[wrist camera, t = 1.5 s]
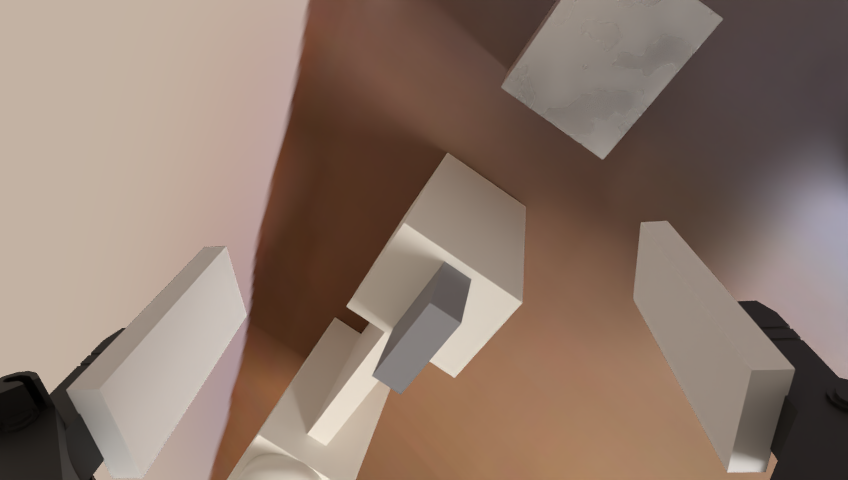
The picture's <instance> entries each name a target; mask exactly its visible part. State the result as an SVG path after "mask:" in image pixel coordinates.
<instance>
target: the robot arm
mask: <svg viewBox="0 0 848 480" xmlns="http://www.w3.org/2000/svg"><path fill="white" fill-rule="evenodd" d="M633 300H634V302H635V304H636V305H637V307H638V309H639V311H640V313H641V315H642V316H643V318H644V320H645V322H646V324H647V326H648V328H649V329H650V331H651V333H652V335H653V337H654V339H655V340H656V342H657V344H658V346H659V348H660V350H661V351H662V353H663V355H664V357H665V359H666V361H667V363H668V364H669V366H670V368H671V370H672V372H673V374H674V375H675V377H676V379H677V381H678V383H679V385H680V386H681V388H682V390H683V392H684V394H685V396H686V398H687V399H688V401H689V403H690V405H691V407H692V409H693V410H694V412H695V414H696V416H697V418H698V420H699V421H700V423H701V425H702V427H703V429H704V431H705V433H706V434H707V436H708V438H709V440H710V442H711V444H712V445H713V447H714V449H715V451H716V453H717V455H718V456H719V458H720V460H721V462H722V464H723V466H724V468H725V469H726V471H727V472H766V469H767V465H768V462H769V458H770V455H771V452H773V454H774V455H775V457H776V458H777V460H778V462H777V464H776V466H775V469H774V471H773V474H772V476H771V478H770V480H848V380H847V379H843V378H839V377H838V376H837V375H836V374H835V373H834V372H833V371H832V370H831V369H830V368H829V367H828V366H827V365H826V364H825V363H824V362H823V361H822V360H821V358H820V357H819V356H818V355H817V354H816V353H815V352H814V351H813V350H812V349H811V348H810V347H809V346H808V345H807V344H806V343H805V342H804V341H803V340H801V339H800V336H799V335H798V334H797V333H796V332H795V331H794V330H793V329H790V326H789V325H788V324H787V323H786V322H785V321H784V320H783V319H782V318H781V317H780V316H779V314H778V313H777V312H775V311H773V310H771V309H770V308H768V307H766V306H765V305H763V304H761V303H759V302H758V301H736V300H735V299H734V298H733V296H732V295H731V294H730V293H729V292H728V291H727V289H726V288H725V287H724V286H723V285H722V284H721V283H720V281H719V280H718V279H717V278H716V277H715V276H714V274H713V273H712V272H711V271H710V270H709V269H708V267H707V266H706V265H705V264H704V263H703V262H702V261H701V259H700V258H699V257H698V256H697V255H696V254H695V252H694V251H693V250H692V249H691V248H690V247H689V245H688V244H687V243H686V242H685V241H684V240H683V239H682V237H681V236H680V235H679V234H678V233H677V232H676V230H675V229H674V228H673V227H672V226H671V225H670V223H669V222H668V221H655V222H641V226H640V235H639V245H638V255H637V265H636V275H635V284H634V294H633ZM246 317H247V313H246V310H245V306H244V303H243V300H242V296H241V293H240V290H239V286H238V283H237V280H236V276H235V273H234V270H233V266H232V263H231V260H230V256H229V253H228V249H227V246H216V247H204V248H203V249H202V250H201V251H200V252H199V253H198V254H197V255H196V256H195V257H194V258H193V260H191V261H190V262H189V264H187V266H186V267H185V268H184V269H183V270H182V271H181V272H180V273H179V274H178V275H177V276H176V277H175V278H174V279H173V280H172V281H171V282H170V283H169V284H168V285H167V286H166V287H165V289H163V290H162V291H161V292H160V293H159V294H158V295H157V296H156V298H155V299H154V300H153V301H152V302H151V303H150V304H149V305H148V306H147V307H146V308H145V309H144V310H143V311H142V312H141V313H140V314H139V315H138V316H137V317H136V318H135V319H134V320H133V321H132V323H130V324H129V325H128V326H127V327H126V328H122V329H120V330H119V331H117V332H116V333H114V334H113V335H111V336H110V337H108V338H106V339H105V340H103V341H102V342H101V343H100V345H98V347H96V348H95V350H93V351H92V353H91V355H89V356H87V358H86V359H85V360H84V361H82V363H81V366H78V367H77V368H76V369H75V370H74V371H73V372H72V373H71V374H70V375H69V376H68V377H67V378H66V379H65V380H64V381H63V382H62V383H61V384H60V385H59V386H58V387H57V388H56V389H55V390H54V391H53V392H52V393H51V394H50V395H49V394H48V392H47V390H46V389H45V387H44V385H43V383H42V382H41V379H40V378H39V376H38V374H37V373H35V372H30V371H25V372H17V373H14V374H10V375H7V376H4V377H1V378H0V480H96V479H95V478H94V476H93V474H94V472H95V471H96V470H97V468H98V467H99V466H100V465H101V463H102V462H103V461H104V463H105V465H106V467H107V469H108V471H109V473H110V474H111V476H112V478H143V477H144V476H145V474H146V472H147V471H148V469H149V468H150V466H151V465H152V463H153V461H154V460H155V458H156V457H157V455H158V454H159V452H160V450H161V449H162V447H163V446H164V444H165V443H166V441H167V440H168V438H169V437H170V435H171V433H172V432H173V430H174V429H175V427H176V426H177V424H178V423H179V421H180V419H181V418H182V416H183V415H184V413H185V411H186V410H187V408H188V407H189V405H190V404H191V402H192V401H193V399H194V398H195V396H196V394H197V393H198V391H199V390H200V388H201V387H202V385H203V383H204V382H205V380H206V379H207V377H208V376H209V374H210V373H211V371H212V369H213V368H214V366H215V365H216V363H217V362H218V360H219V359H220V357H221V355H222V354H223V352H224V351H225V349H226V348H227V346H228V345H229V343H230V341H231V340H232V338H233V337H234V335H235V333H236V332H237V331H238V328H239V327H240V326H241V324H242V323H243V321H244V320H245V318H246Z"/></svg>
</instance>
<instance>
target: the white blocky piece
mask: <svg viewBox="0 0 848 480" xmlns="http://www.w3.org/2000/svg"><path fill="white" fill-rule="evenodd" d="M525 219H526V206H524V205H523V204H521V203H520V202H519V201H517V200H516V199H514V198H513V197H511V196H510V195H508V194H507V193H506V192H504V191H503V190H501V189H500V188H498V187H497V186H495V185H494V184H493V183H491V182H490V181H488V180H487V179H485V178H484V177H482V176H481V175H480V174H478V173H477V172H475V171H474V170H472V169H471V168H469V167H468V166H467V165H465V164H464V163H462V162H461V161H459V160H458V159H456V158H455V157H454V156H452V155H451V154H449V153H447V154H446V155H445V157H444V158H443V160H442V161H441V163H440V164H439V166H438V167H437V169H436V170H435V172H434V173H433V175H432V176H431V177H430V179H429V180H428V182H427V183H426V185H425V186H424V188H423V189H422V191H421V192H420V194H419V195H418V196H417V198H416V199H415V201H414V202H413V204H412V205H411V207H410V208H409V210H408V211H407V213H406V214H405V215H404V217H403V219H402V220H401V222H400V223H399V225H398V226H397V228H396V230H395V231H394V233H393V234H392V236H391V237H390V239H389V241H388V242H387V244H386V245H385V247H384V248H383V250H382V251H381V253H380V255H379V256H378V258H377V259H376V261H375V262H374V264H373V266H372V267H371V269H370V270H369V272H368V273H367V275H366V276H365V278H364V280H363V281H362V283H361V284H360V286H359V287H358V289H357V291H356V292H355V294H354V295H353V297H352V298H351V300H350V302H349V303H348V305H347V306H346V307H347V308H349V309H351V310H352V311H354V312H355V313H357V314H358V315H360V316H361V317H363V318H364V319H366V320H367V321H369V322H370V323H369V324H368V325H367V327H366V328H365V330H364V331H363V332H362V334H360V333H359V332H357V331H356V330H354V329H352V328H351V327H349V326H348V325H346V324H345V323H343V322H342V321H340V320H339V319H337V318H336V317H335V318H334V319H333V321H332V322H331V324H330V325H329V327H328V328H327V329H326V331H325V332H324V334H323V335H322V337H321V338H320V340H319V341H318V343H317V344H316V346H315V347H314V348H313V350H312V351H311V353H310V354H309V356H308V357H307V359H306V360H305V362H304V363H303V365H302V366H301V368H300V369H299V371H298V372H297V374H296V375H295V377H294V378H293V380H292V381H291V383H290V384H289V386H288V387H287V389H286V391H285V392H284V394H283V395H282V397H281V398H280V400H279V401H278V403H277V404H276V406H275V407H274V409H273V410H272V412H271V413H270V415H269V416H268V418H267V419H266V421H265V422H264V424H263V425H262V427H261V429H260V430H259V432H258V433H257V435H256V436H255V438H254V439H253V441H252V442H251V444H250V445H249V447H248V448H247V450H246V451H245V453H244V454H243V456H242V457H241V459H240V460H239V462H238V463H237V465H236V466H235V468H234V470H233V471H232V473H231V474H230V476H229V477H228V479H227V480H356V477H357V475H358V472H359V469H360V467H361V464H362V462H363V459H364V456H365V454H366V451H367V448H368V446H369V443H370V441H371V438H372V435H373V433H374V430H375V427H376V425H377V422H378V420H379V417H380V414H381V412H382V409H383V406H384V404H385V401H386V399H387V396H388V393H389V391H390V388H391V389H393V390H394V391H396V392H397V393H399V394H400V395H401V394H402V392H403V391H404V390H405V389H406V388H407V387H408V385H409V384H410V383H411V382H412V381H413V380H414V378H415V377H416V376H417V375H418V374H419V373H420V371H421V370H422V369H423V368H424V367H425V365H426V364H427V363H428V362H429V361H430V362H431V363H433V364H434V365H436V366H437V367H439V368H440V369H442V370H443V371H445V372H447V373H448V374H450V375H451V376H453V377H454V378H455V377H456V376H457V374H458V373H459V372H460V371H461V370H462V369H463V368H464V367H465V366H466V365H467V363H468V362H469V361H470V360H471V359H472V358H473V357H474V356H475V355H476V353H477V352H478V351H479V350H480V349H481V348H482V347H483V346H484V345H485V344H486V342H487V341H488V340H489V339H490V338H491V337H492V336H493V335H494V334H495V333H496V331H497V330H498V329H499V328H500V327H501V326H502V325H503V324H504V323H505V321H506V320H507V319H508V318H509V317H510V316H511V315H512V314H513V313H514V312H515V310H516V309H517V308H518V307H519V306H520V305H521V304H522V302H523V274H524V247H525Z"/></svg>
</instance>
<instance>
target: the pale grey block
mask: <svg viewBox="0 0 848 480" xmlns="http://www.w3.org/2000/svg"><path fill="white" fill-rule="evenodd" d="M722 20H723V18H722V17H720V16H719V15H718V14H716V13H715V12H714V11H712V10H711V9H710V8H708V7H707V6H706V5H704V4H703V3H702V2H700V1H699V0H556V2H555V3H554V5H553V6H552V8H551V9H550V10H549V12H548V13H547V15H546V16H545V18H544V19H543V21H542V22H541V24H540V25H539V26H538V28H537V29H536V31H535V32H534V34H533V35H532V37H531V38H530V40H529V41H528V42H527V44H526V45H525V47H524V48H523V50H522V51H521V53H520V54H519V56H518V57H517V58H516V60H515V61H514V63H513V64H512V66H511V67H510V69H509V70H508V72H507V74H506V77H505V79H504V81H503V84H502V86H501V88H502V89H504V90H505V91H507V92H508V93H509V94H511V95H512V96H514V97H515V98H516V99H518V100H519V101H521V102H522V103H523V104H525V105H526V106H528V107H529V108H531V109H532V110H533V111H535V112H536V113H538V114H539V115H540V116H542V117H543V118H545V119H546V120H547V121H549V122H550V123H552V124H553V125H554V126H556V127H557V128H559V129H560V130H561V131H563V132H564V133H566V134H567V135H569V136H570V137H571V138H573V139H574V140H576V141H577V142H578V143H580V144H581V145H583V146H584V147H585V148H587V149H588V150H590V151H591V152H592V153H594V154H595V155H597V156H598V157H600V158H601V159H602V160H603V159H604V158H605V157H606V156H607V155H608V153H609V152H610V151H611V150H612V149H613V147H614V146H615V145H616V144H617V143H618V142H619V140H620V139H621V138H622V137H623V136H624V135H625V133H626V132H627V131H628V130H629V129H630V128H631V126H632V125H633V124H634V123H635V122H636V121H637V119H638V118H639V117H640V116H641V115H642V114H643V112H644V111H645V110H646V109H647V108H648V107H649V105H650V104H651V103H652V102H653V101H654V99H655V98H656V97H657V96H658V95H659V94H660V92H661V91H662V90H663V89H664V88H665V87H666V85H667V84H668V83H669V82H670V81H671V80H672V78H673V77H674V76H675V75H676V74H677V73H678V71H679V70H680V69H681V68H682V67H683V66H684V64H685V63H686V62H687V61H688V60H689V59H690V57H691V56H692V55H693V54H694V53H695V51H696V50H697V49H698V48H699V47H700V46H701V44H702V43H703V42H704V41H705V40H706V39H707V37H708V36H709V35H710V34H711V33H712V32H713V30H714V29H715V28H716V27H717V26H718V25H719V23H720V22H721V21H722Z"/></svg>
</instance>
